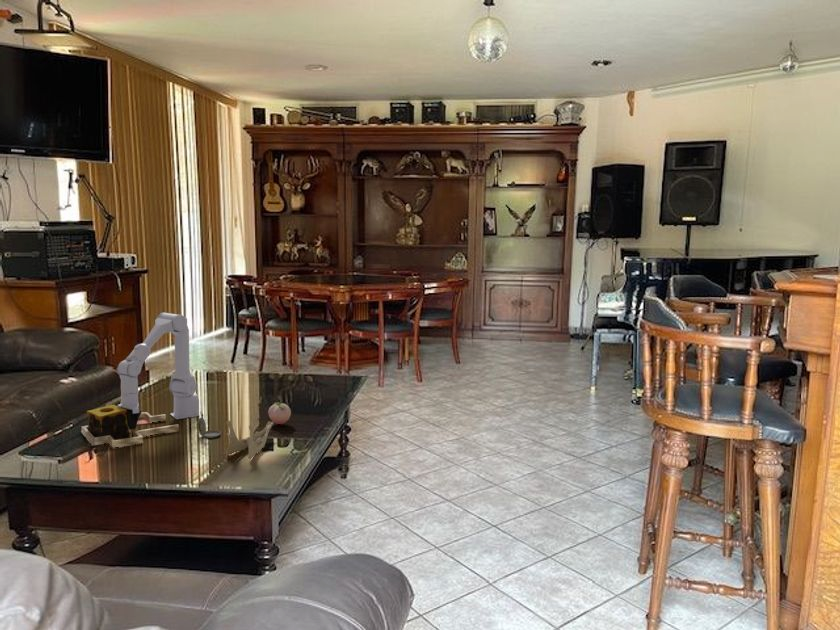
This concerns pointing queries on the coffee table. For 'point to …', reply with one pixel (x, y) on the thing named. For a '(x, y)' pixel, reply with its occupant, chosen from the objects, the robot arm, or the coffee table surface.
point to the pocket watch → (203, 429)
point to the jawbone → (248, 440)
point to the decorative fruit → (279, 413)
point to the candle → (108, 421)
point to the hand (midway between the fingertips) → (130, 427)
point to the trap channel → (138, 435)
